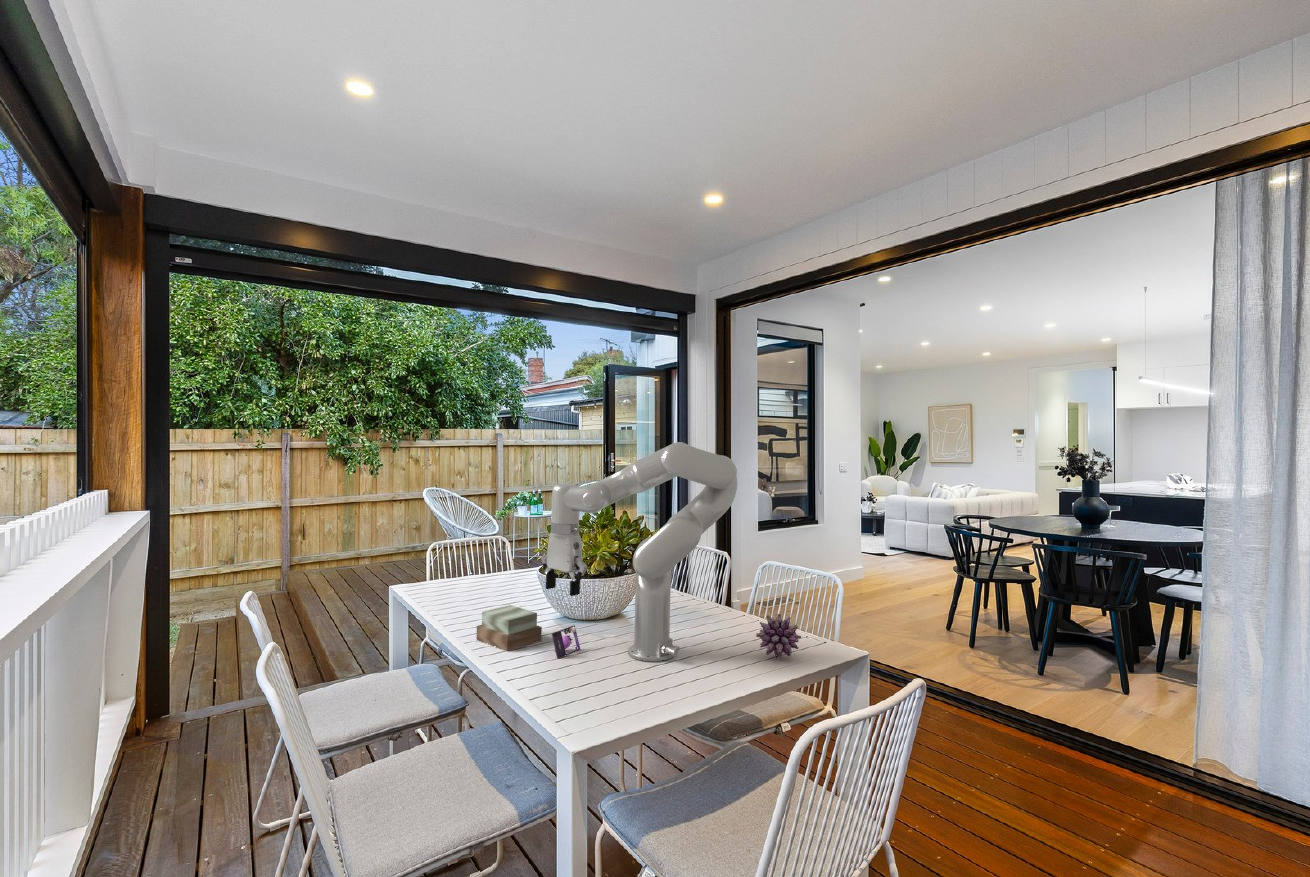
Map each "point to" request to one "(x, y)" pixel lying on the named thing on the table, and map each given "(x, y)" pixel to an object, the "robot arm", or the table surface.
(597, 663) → the table surface
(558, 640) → the purple product box
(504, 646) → the tower stack
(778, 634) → the purple spiky ball
